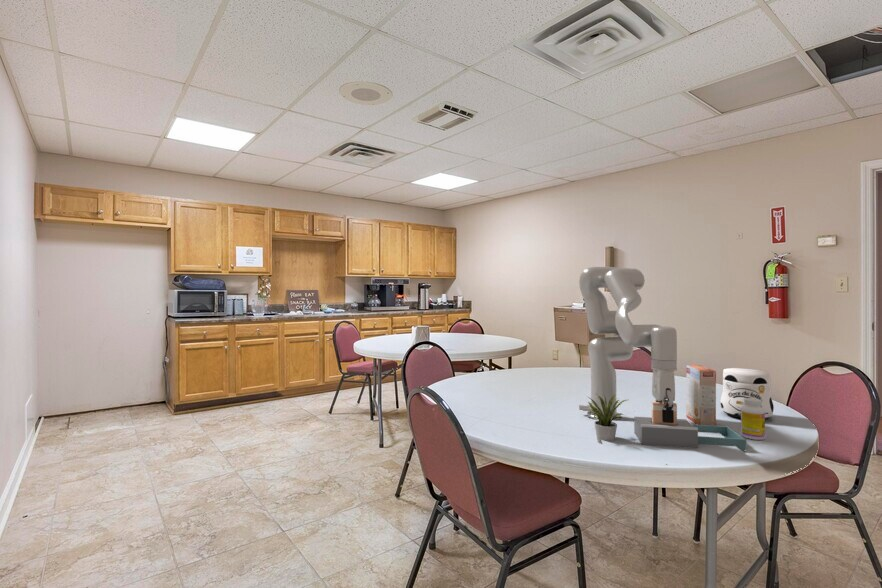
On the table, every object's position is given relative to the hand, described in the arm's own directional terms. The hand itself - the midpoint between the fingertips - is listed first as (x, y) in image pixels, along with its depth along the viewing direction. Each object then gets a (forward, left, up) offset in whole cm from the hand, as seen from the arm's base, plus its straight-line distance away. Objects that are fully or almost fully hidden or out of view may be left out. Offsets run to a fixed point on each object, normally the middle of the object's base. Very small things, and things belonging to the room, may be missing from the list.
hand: (664, 418), depth 143 cm
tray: (+16, +6, -9) cm, 19 cm away
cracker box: (+20, +30, -9) cm, 37 cm away
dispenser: (0, 0, -9) cm, 9 cm away
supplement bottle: (+31, +14, -9) cm, 35 cm away
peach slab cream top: (0, 0, -7) cm, 7 cm away
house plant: (-17, -1, -9) cm, 19 cm away
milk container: (+40, +42, -9) cm, 59 cm away
